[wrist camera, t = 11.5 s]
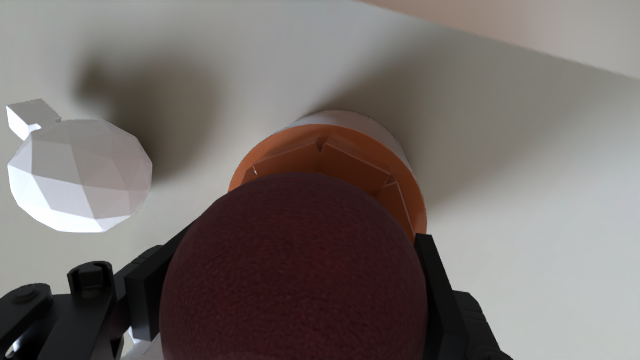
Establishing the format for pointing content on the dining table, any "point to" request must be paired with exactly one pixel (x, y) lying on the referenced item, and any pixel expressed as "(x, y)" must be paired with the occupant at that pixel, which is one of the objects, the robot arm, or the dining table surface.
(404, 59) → the dining table surface
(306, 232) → the decorative ball
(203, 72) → the dining table surface
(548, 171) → the dining table surface
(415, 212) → the pedestal
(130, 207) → the perfume bottle
